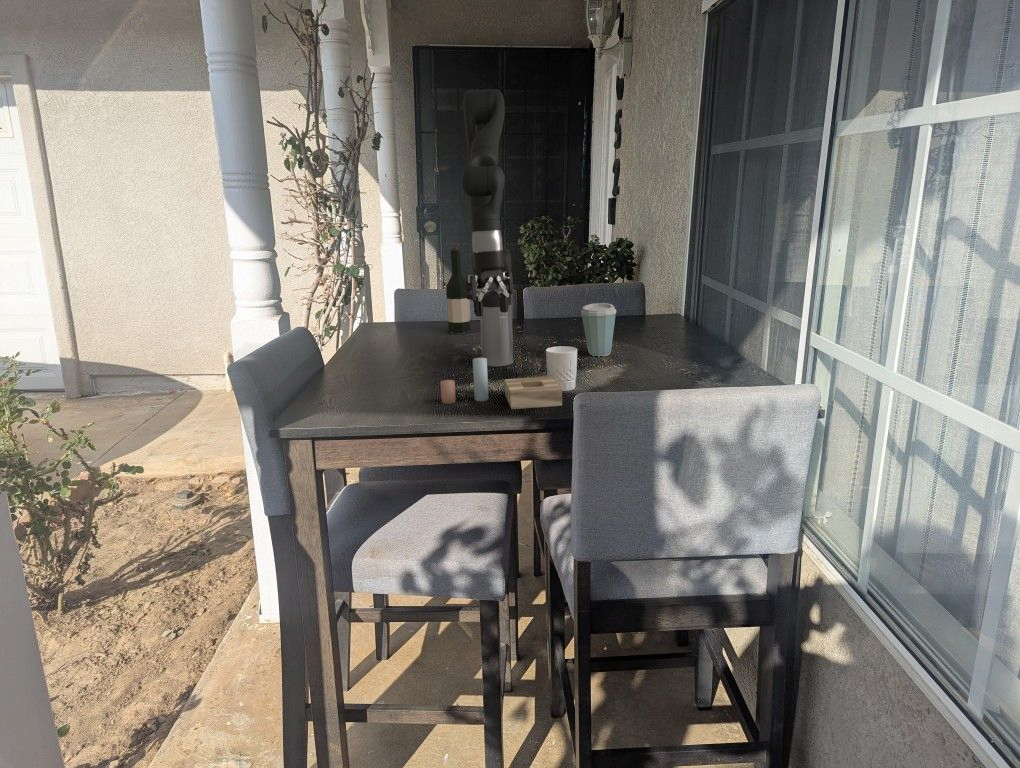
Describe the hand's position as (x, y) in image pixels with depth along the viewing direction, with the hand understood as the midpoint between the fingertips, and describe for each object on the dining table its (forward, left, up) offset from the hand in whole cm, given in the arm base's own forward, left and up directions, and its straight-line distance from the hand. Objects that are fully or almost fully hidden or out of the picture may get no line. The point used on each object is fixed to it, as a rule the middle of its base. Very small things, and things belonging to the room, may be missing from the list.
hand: (491, 314), depth 181 cm
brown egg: (+12, -13, -19) cm, 26 cm away
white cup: (+7, +16, -19) cm, 26 cm away
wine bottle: (-76, -5, -19) cm, 78 cm away
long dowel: (+12, -5, -19) cm, 23 cm away
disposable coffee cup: (-27, +34, -19) cm, 47 cm away
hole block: (+16, +7, -19) cm, 26 cm away
